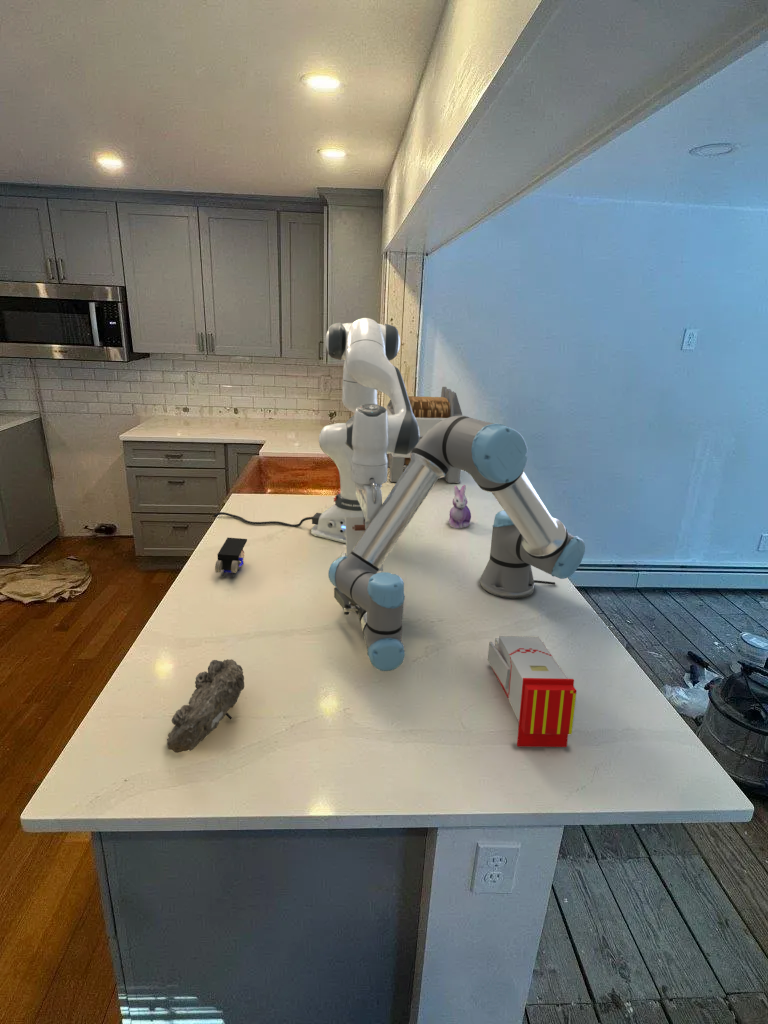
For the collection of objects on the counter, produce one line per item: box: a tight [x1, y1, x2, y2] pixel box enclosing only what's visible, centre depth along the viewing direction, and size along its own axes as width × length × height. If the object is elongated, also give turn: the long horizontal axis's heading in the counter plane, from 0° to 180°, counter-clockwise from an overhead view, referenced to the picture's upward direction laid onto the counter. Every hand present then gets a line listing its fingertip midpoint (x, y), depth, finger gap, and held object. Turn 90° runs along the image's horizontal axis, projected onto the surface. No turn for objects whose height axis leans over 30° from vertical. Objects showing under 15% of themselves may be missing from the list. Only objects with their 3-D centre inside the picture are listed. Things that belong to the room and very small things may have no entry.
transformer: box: [386, 386, 463, 484], centre depth 268 cm, size 34×33×41 cm
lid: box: [345, 517, 384, 572], centre depth 145 cm, size 14×10×8 cm
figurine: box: [448, 484, 472, 529], centre depth 208 cm, size 9×10×15 cm
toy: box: [486, 635, 577, 748], centre depth 115 cm, size 12×13×30 cm
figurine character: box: [214, 537, 248, 578], centre depth 166 cm, size 7×8×15 cm
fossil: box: [166, 658, 245, 754], centre depth 106 cm, size 22×10×15 cm
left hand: (367, 526), depth 142 cm, fingers closed
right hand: (362, 577), depth 152 cm, fingers closed on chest, 9 cm apart
